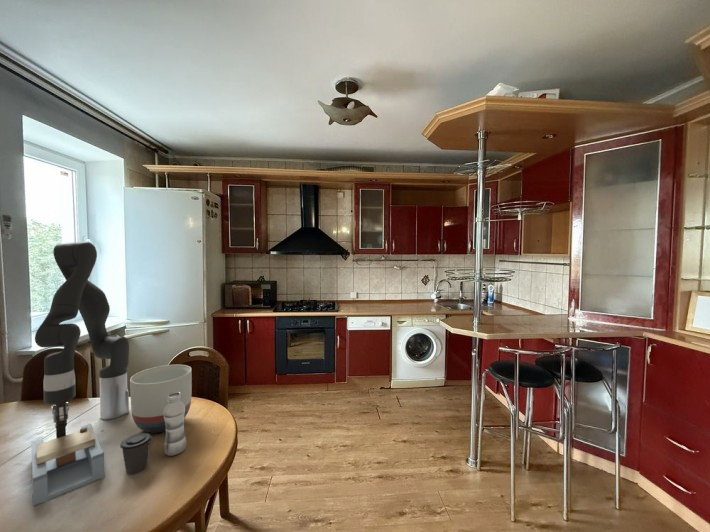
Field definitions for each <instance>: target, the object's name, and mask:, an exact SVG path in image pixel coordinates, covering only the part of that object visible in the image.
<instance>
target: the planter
mask: <svg viewBox="0 0 710 532" xmlns="http://www.w3.org/2000/svg"><path fill="white" fill-rule="evenodd" d="M192 376H193V375H192V367H191V366H189V365H186V364H166V365H160V366H155V367H151V368H147V369H143V370H142V371H139V372H137V373H135V374H133V375H132V376H131V377H130V379H129V392H130V394H129V395H130V396H129V398H130V408H131V409H130V410H131V415H132V420H133V422H134V424H135V425H136V427H137V428H139V429H140V430H142V431H144V432H145V433H154V434H155V433H162V432H163V433H164V432H166V428H165V421H164V416H163V412H164V409H165V407H166V406H167V404H168V403H169V402H168V395H169V394H172V393H176V392H179V393H180V397H181V399H180V401H181V402H182V403H183V404H184V406H185V415H184V419H185V418H186V416H187V415H188V413H189V411H190V408H191V403H192V387H193V383H192V380H193V377H192Z"/></svg>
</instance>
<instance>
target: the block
mask: <svg viewBox="0 0 710 532" xmlns="http://www.w3.org/2000/svg"><path fill="white" fill-rule="evenodd" d="M73 460H76V452H73V453H70V454H67V455H64V456H61V457H59V458H56V466H59V465H62V464H65V463H68V462H70V461H73Z"/></svg>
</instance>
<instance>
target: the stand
mask: <svg viewBox="0 0 710 532" xmlns="http://www.w3.org/2000/svg"><path fill="white" fill-rule="evenodd" d="M92 425H93V424H92V423H89V424H86V425H82V426H80V429H82V428H85V427H86V428H87V429H88V428H91V429H92V431H93V434H94V437H95V445H93V446H90V447H88V448H85V449H82V450H79V451H76V460H73V461H70V462H68V463H65V464H62V465H59V466H56V459H53V460H50V461H47V462H44V463H41V464H38V465H37V454H36V445H37V444H40V443H43V442H45V441H44V438H39V439H37V440H32V441H31V442H30V444H31V475H32V477H31V478H32V480H31V481H32V499H33V501H32V502H33V503H32V504H33V506H36V505H39V504H41V503H44V502H47V501H48V500H52V499H54V498H55V497H58V496H60V495H64V494H65V493H68V492H70V491H73V490H75V489H77V488H80V487H82V486H85V485H87V484H90V483H92V482H95V481H98V480H101V479H102V478H105V476H106V474H105V473H106V471H105V470H106V469H105V452H104V451H103V450H102V447H101V445H100V442H99V440H98V437H97V435H96V432H95V430H94V426H92Z"/></svg>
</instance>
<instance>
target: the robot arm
mask: <svg viewBox="0 0 710 532" xmlns="http://www.w3.org/2000/svg"><path fill="white" fill-rule="evenodd" d="M52 253H53V257H54V260H55V263H56V265H57V267H58V268H59V270H60V272H61V274H62V276H63V277H64V279H65V281H64V282H63V283H62V284H61V285H60V286H59V287H58V289H56V292H55V293H54V295H53V298H52V301H51V304H50V309H49V312H48V313H47V316H46V317H45V318H44V320H43V321H42V323H41V324H40V325H39V327H38V329H37V330H36V332H35V335H34V341H35V343H36V345H37V346H38V347H39V348H51V347H52V348H53V347H63V349H62V350H61V351H57V352H54V353H51V354H48V355H46V356H45V357H44V360H43V370H44V371H43V374H44V376H43V380H42V381H43V403H44V404H45V405H52V406H51V413H52V414H51V415H52V419H53V423H54V428H55V436H56V437H55V439H56V438H59V437H62V436H66V435H67V432H66V431H67V426H68V419H69V410H70V405H69V402H68V401H70V400H71V401H72V399H74V398H75V397H76V389H77V387H76V373H75V353H76V348H77V345H78V342H79V339H80V337H81V333H82V332H81V328H80V326H79V325H78V324H76V323H63V322H67V321H70V320H72V319H73V320H74V319H75V318H76V317H77V316H78V313H79V314H80V315H81V318H82V320H83V322H84V327H85V328H86V331H87V334H88V336H89V337H88V338H89V341H90V345H91V349H92V352H93V354H94V356H95V357H96V358H98V359H101V360H110V361H109V365H107V366H104V367H102V368H101V369H100V370H99V373H98V376H99V411H100V412H99V414H100V415H99V416H100V419H101V420H113V419H116V418H119V417H122V416H124V415H126V414H128V413H130V396H129V395H130V394H129V392H130V390H129V389H128V366H129V361H130V359H129V357H130V343H129V340H128V338H127V337H126V336H110V335H109V333H108V331H107V328H106V322H107V320H108V317H109V314H110V310H111V309H110V308H111V307H110V303H109V300H108V299H107V296H106V293H105V292H104V291H103V290H102V289H101V288H100V287H98V286H97V285H96V284H94V283H93V282H91V281H89V278H90V277H91V274H92V271H93V269H94V267H95V265H96V262H97V257H98V252H97V248H96V247H95V245H94V244H93V243H92V242H89V241H74V242H64V243H58V244H56V245H55V246H54V247H53V251H52Z"/></svg>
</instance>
